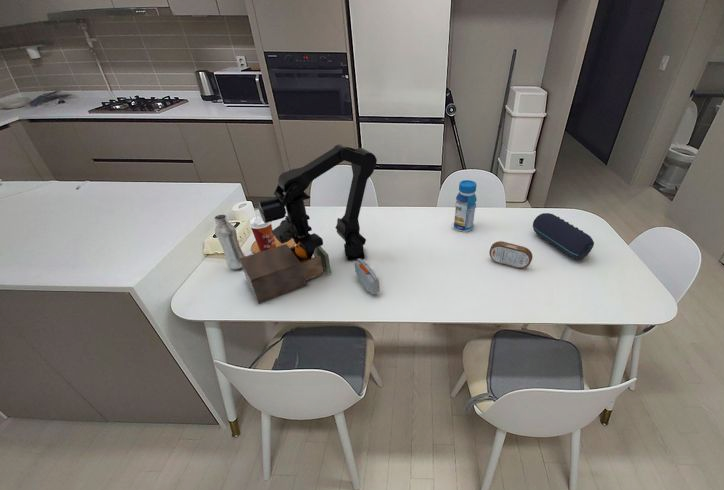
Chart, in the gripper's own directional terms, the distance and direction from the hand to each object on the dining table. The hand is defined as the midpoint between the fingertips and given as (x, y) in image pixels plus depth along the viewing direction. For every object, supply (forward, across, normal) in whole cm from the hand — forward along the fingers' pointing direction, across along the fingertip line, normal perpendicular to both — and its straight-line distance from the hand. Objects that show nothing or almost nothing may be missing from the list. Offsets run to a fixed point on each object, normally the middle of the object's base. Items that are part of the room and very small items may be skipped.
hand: (305, 254), depth 119 cm
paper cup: (+8, -21, -6) cm, 23 cm away
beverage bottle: (+8, +14, +65) cm, 67 cm away
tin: (+8, +43, +58) cm, 72 cm away
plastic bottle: (+8, -20, -18) cm, 28 cm away
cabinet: (+8, -1, -12) cm, 14 cm away
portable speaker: (+8, +49, +83) cm, 96 cm away
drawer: (+7, 0, -1) cm, 7 cm away
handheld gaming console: (+8, +20, +11) cm, 24 cm away
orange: (0, 0, +2) cm, 2 cm away
